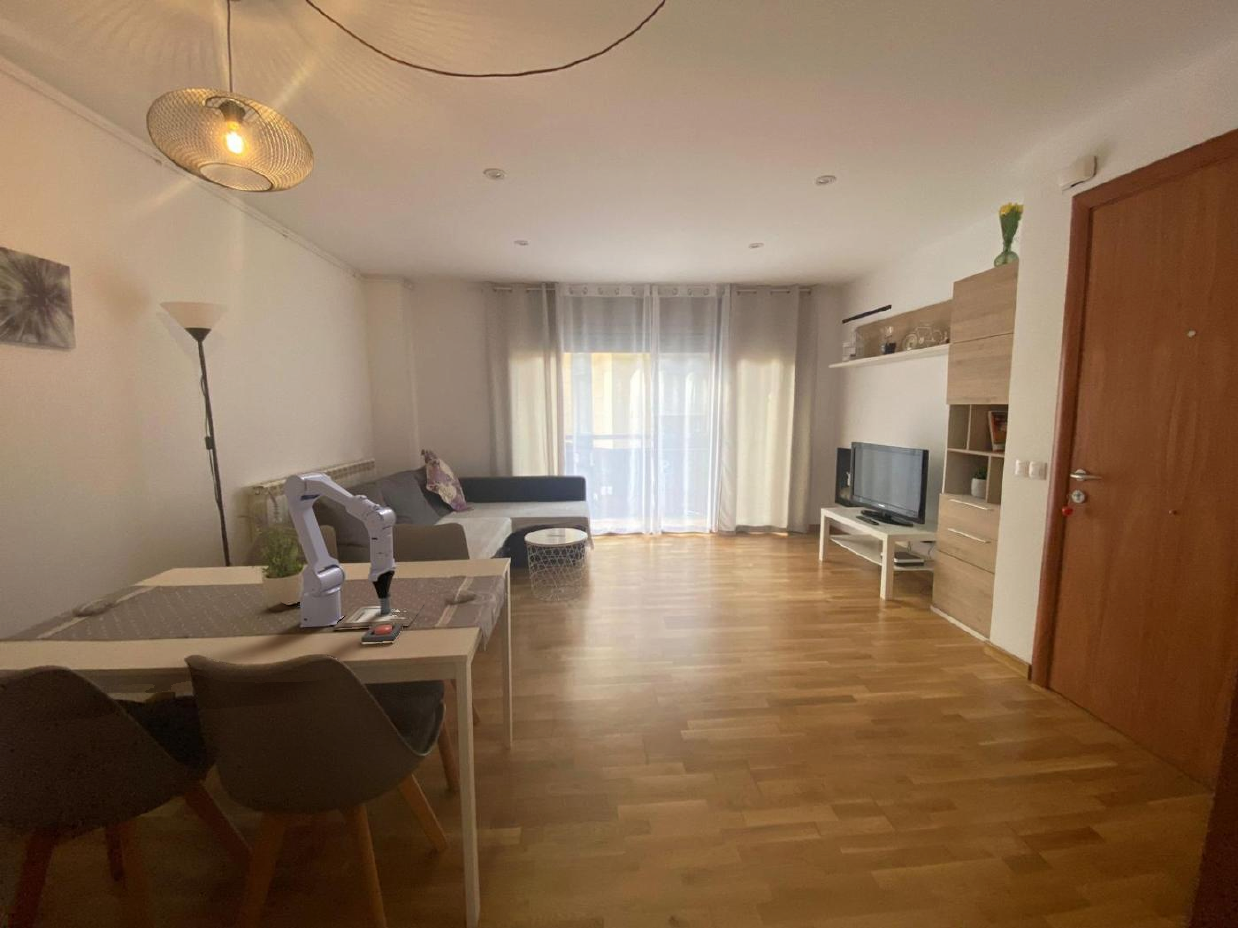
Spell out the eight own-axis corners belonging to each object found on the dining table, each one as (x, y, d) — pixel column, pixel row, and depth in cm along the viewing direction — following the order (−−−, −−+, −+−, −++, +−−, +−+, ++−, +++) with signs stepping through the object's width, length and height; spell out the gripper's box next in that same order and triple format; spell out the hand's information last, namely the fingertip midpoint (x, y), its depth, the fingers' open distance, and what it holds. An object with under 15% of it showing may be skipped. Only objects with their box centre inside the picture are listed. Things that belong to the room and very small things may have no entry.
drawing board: (334, 630, 129) (334, 626, 129) (357, 608, 145) (357, 604, 145) (409, 626, 132) (409, 622, 132) (424, 604, 148) (424, 601, 148)
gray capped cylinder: (378, 615, 137) (378, 595, 136) (382, 611, 140) (381, 591, 139) (389, 614, 137) (388, 595, 137) (392, 610, 140) (392, 591, 139)
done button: (371, 639, 123) (371, 632, 123) (377, 632, 127) (377, 625, 127) (389, 638, 123) (388, 631, 123) (394, 631, 128) (394, 624, 128)
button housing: (361, 644, 121) (361, 637, 121) (373, 631, 129) (373, 624, 128) (394, 643, 122) (393, 635, 122) (403, 629, 130) (403, 622, 130)
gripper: (387, 558, 123) (388, 606, 124) (404, 544, 138) (405, 588, 139) (359, 558, 122) (361, 607, 123) (379, 544, 137) (381, 588, 138)
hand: (383, 597), depth 131 cm, fingers closed
